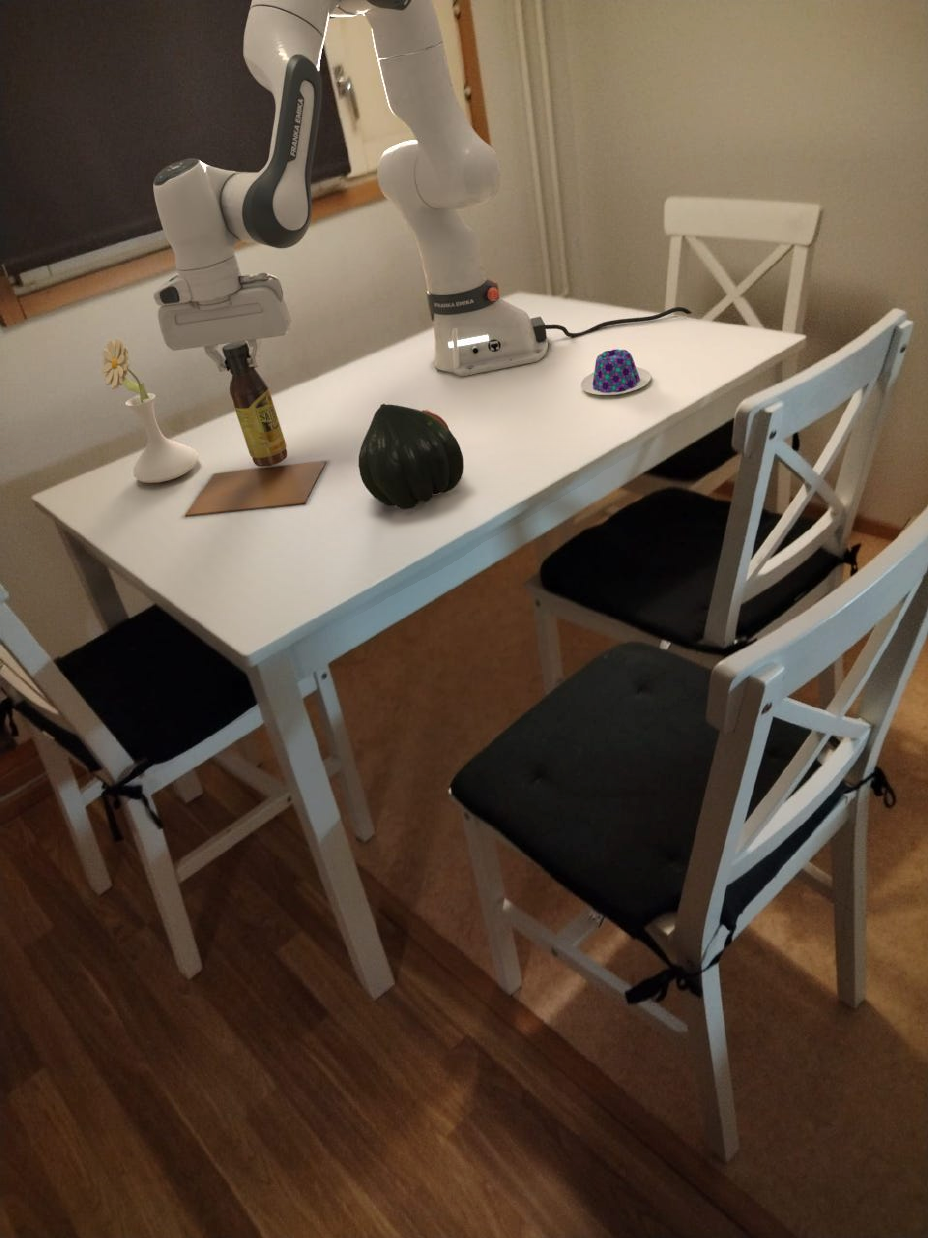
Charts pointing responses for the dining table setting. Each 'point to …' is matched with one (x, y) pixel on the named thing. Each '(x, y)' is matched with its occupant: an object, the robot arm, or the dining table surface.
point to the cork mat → (257, 488)
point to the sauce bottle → (254, 408)
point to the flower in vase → (147, 423)
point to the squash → (408, 457)
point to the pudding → (615, 374)
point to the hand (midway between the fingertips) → (240, 368)
